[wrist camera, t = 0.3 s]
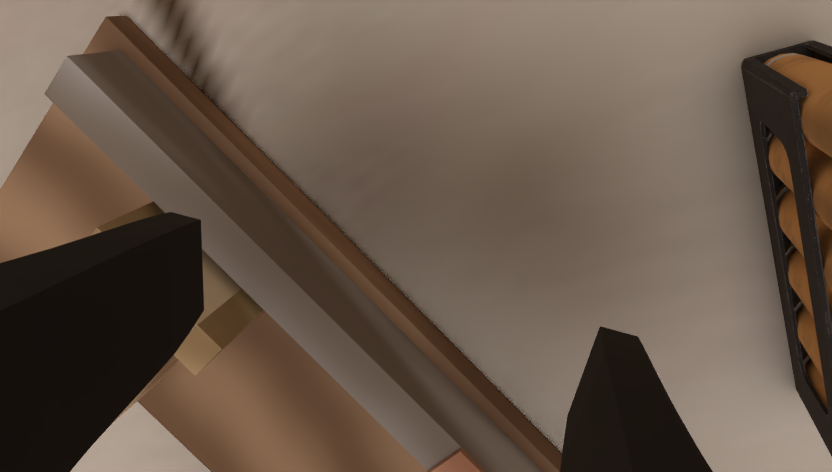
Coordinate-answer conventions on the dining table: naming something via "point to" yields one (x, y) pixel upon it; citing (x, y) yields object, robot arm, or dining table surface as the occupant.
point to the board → (264, 357)
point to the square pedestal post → (219, 320)
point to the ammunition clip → (799, 205)
